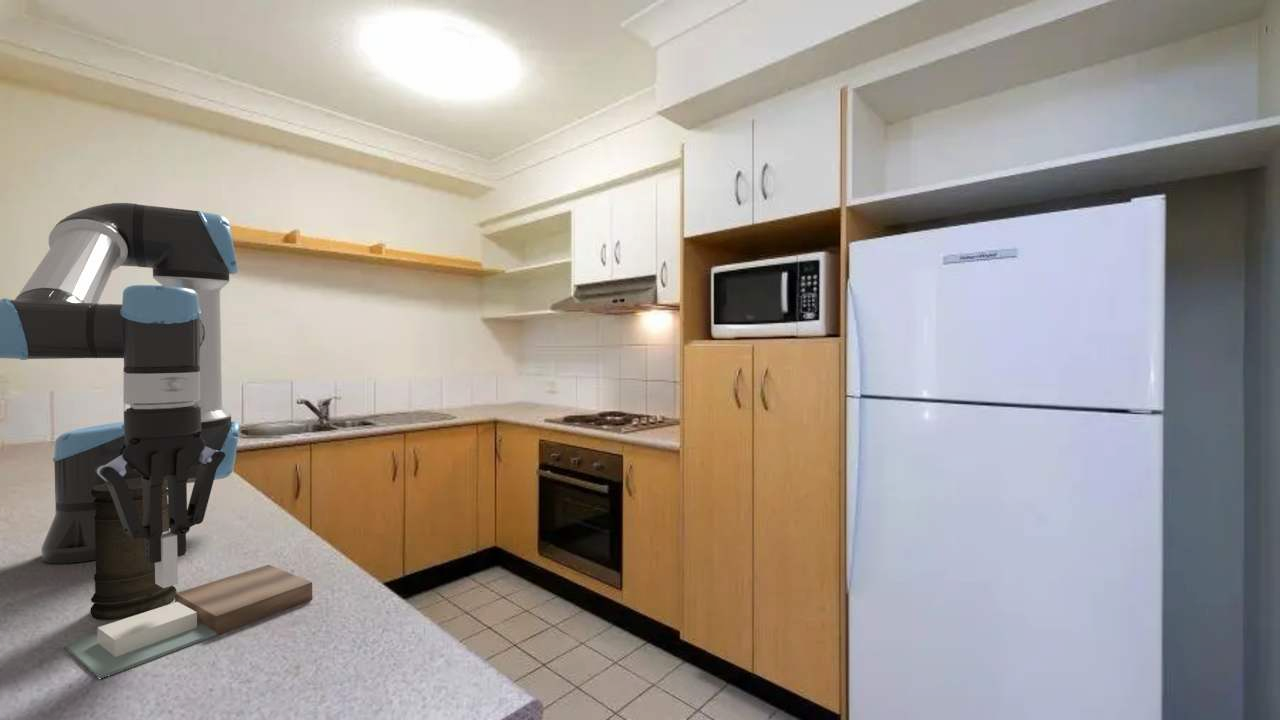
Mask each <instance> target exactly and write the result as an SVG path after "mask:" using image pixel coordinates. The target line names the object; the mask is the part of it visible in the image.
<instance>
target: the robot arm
mask: <svg viewBox="0 0 1280 720" xmlns="http://www.w3.org/2000/svg"><path fill="white" fill-rule="evenodd" d="M53 227H54V228H52V230H51V231H50V234H49V235H48V246H49V250H48V251H47V253H46V254H45V256H44V257H43V259H42V260H41V261H40V263H39V264H38V266H37V267H36V268H35V269H34V272H33V273H32V275H30V278H29V279H28V280H27V282H26V284H25V285H24V286H23V288H22V289H21V291H20V292H19V294H18V295H17V296H16V297H15V299H8V298H2V299H0V359H8V360H9V359H15V360H21V361H27V360H41V359H42V360H49V359H50V360H51V359H53V360H55V359H59V360H60V359H123V403H124V404H125V405H128V406H129V408H126V409H125V410H124V411H123V421H119V422H112V423H106V424H99V425H93V426H88V427H84V428H78V429H74V430H71V431H66V432H64V433H62V434H61V435H59V436H58V437H57V438H56V440H55V445H54V457H53V459H52V462H54V498H55V513H54V518H53V520H52V522H51V525H50V526H49V529H48V531H47V533H46V536H45V539H44V541H43V543H42V546H41V561H42V562H44V563H48V564H71V563H72V564H73V563H83V562H90V561H96V545H95V520H94V517H95V515H96V505H95V504H96V503H94V500H95V499H96V497H93V496H92V494H91V491H92V489H93V487H95V486H98V485H101V484H104V483H107V485H108V488H109V491H110V494H111V496H112V499H113V502H114V504H115V507H116V510H117V512H118V515H119V518H120V520H121V523H122V526H123V529H124V531H125V533H126V534H127V535H129V536H131V537H133V538H144V539H145V559H146V560H147V562H149V563H151V564H153V563H155V584H157V585H159V586H160V587H162V588H166V587H169V586H175V585H178V584H179V581H178V580H179V577H178V575H179V574H178V573H179V572H178V571H179V570H178V569H179V568H178V563H179V562H178V557H183V556H185V554H186V552H187V533H189V531H190V529H191V528H192V527H194V526H196V525H200V524H202V523H203V521H204V519H205V515H206V512H207V507H208V504H209V499H210V498H211V497H210V496H211V492H212V490H213V485H214V481H216V480H217V481H218V480H223V479H226V478H228V477H230V476H231V474H232V473H233V471H234V468H235V462H236V457H237V449H238V442H239V433H240V428H241V427H240V426H241V424H240V422H238V421H235V420H234V421H232V413H231V412H230V411H228V410H227V409H226V408H225V407H223V403H222V402H223V400H222V399H223V398H222V397H223V395H222V394H223V392H222V391H223V390H222V389H223V388H222V387H223V386H222V385H223V384H222V341H221V340H222V338H221V337H222V334H221V333H222V331H221V325H222V324H221V290H222V289H223V288H224V287H226V286H227V285H228V284H229V283H230V275H234V274H237V273H239V270H238V265H237V259H236V253H235V247H234V242H233V234H232V230H231V223H230V221H229V220H228V219H227V218H226V217H225V216H224V215H221V214H216V213H212V212H211V213H210V212H206V211H201V210H191V209H181V208H175V207H174V208H173V207H171V208H170V207H164V206H156V205H155V206H154V205H148V204H147V205H146V204H145V205H144V204H137V203H132V202H131V203H130V202H112V203H104V204H100V205H95V206H90V207H88V208H84V209H81V210H78V211H76V212H73V213H72V214H69V215H67V216H65V217H64V218H62V219H61V220H60V221H59V222H58V223H56V224H55V226H53ZM120 267H137V268H138V267H139V268H148V269H152V279H154V280H155V281H156V282H157V283H158V284H160V285H154V284H153V285H152V284H136V285H129V286H127V287H125V288H124V289H123V292H122V300H121V301H122V304H120V303H119V304H118V303H116V304H115V303H99V301H100V299H101V296H102V294H103V292H104V289H105V288H106V286H107V284H108V281H109V278H110V276H111V274H112V272H113V271H114V270H116V269H119V268H120ZM163 477H166V478H167V480H168V488H167V489H168V496H167V499H168V518H169V531H168V532H163V530H162V485H163ZM133 478H141V483H142V485H143V526H142V524H141V521H140V518H139V515H138V512H137V510H136V507H135V504H134V501H133V499H132V496H131V493H130V490H129V488H128V485H127V483H126V481H125V480H126V479H133ZM192 483H193V486H192V487H193V488H192V491H191V495H190V499H189V502H188V491H187V489H188V487H187V485H188V484H192Z"/></svg>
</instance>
